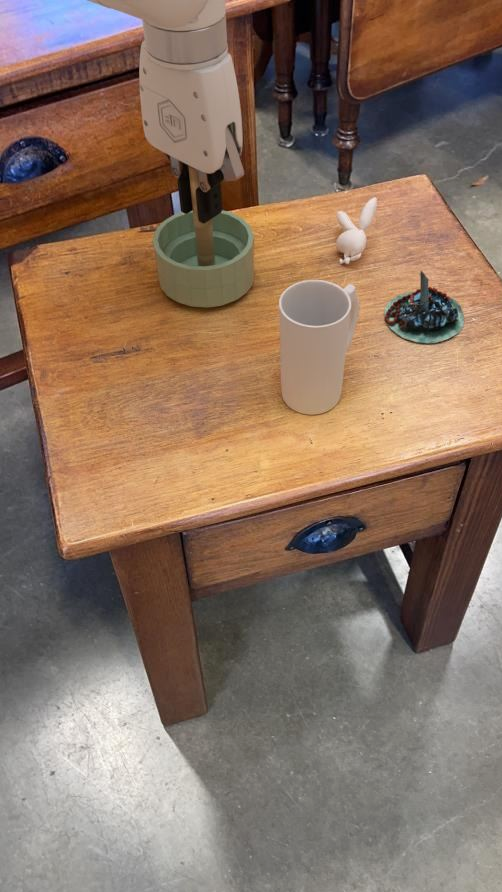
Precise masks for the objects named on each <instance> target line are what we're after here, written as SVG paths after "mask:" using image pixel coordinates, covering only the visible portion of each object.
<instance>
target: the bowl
mask: <svg viewBox="0 0 502 892" xmlns="http://www.w3.org/2000/svg"><path fill="white" fill-rule="evenodd" d="M212 228H213V241H214V254H215V265H211V266H205V267H204V266H198V261H197V250H196V240H195V230H194V219H193V210H192V211H191V212H189V213H187V214H185V213H183V212H181V211H180V212H177V213H175V214H173V215H171V216H170V217H168V218H166V219H164V220H163V221H162V222H161V223H160V224H159V225H158V227H157V228H155V230H154V234H153V237H152V245H153V252H154V253H153V254H154V258H155V266H156V274H157V279H158V283H159V287H160V289H161V290H162V292H163V293H164V294H165V295H166V296H167V297H168V298H170V299H172V300H173V301H174V302H176V303H179V304H182V305H184V306H185V305H186V306H189V307H193V308H213V307H221V306H224V305H225V306H226V305H227V304H231V303H232V302H235V301H237V300H239V299H241V298H242V297H243V296H244V295H246V294H247V293H248V292H249V290H250V289H251V287H252V286H253V285H254V283H255V276H256V261H255V258H256V257H255V255H256V254H255V235H254V232H253V229H252V227H251V225H250V224H249V223H248V222H247V221H246V220H245V218H242V217H241V216H240V215H237V214H235V213H233V212H231V211H227V210H223V209H222V212H221V213H220V214H218V215H217V216H215V217H214V218H212Z"/></svg>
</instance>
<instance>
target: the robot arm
mask: <svg viewBox="0 0 502 892" xmlns="http://www.w3.org/2000/svg"><path fill="white" fill-rule="evenodd" d="M87 2H90V3H94V4H96V5H98V6H99V5H100V6H101V7H104V8H107V9H111V10H114V11H117V12H120V13H124V14H125V15H128V16H132V17H133V18H136V19H140V20H141V22H142V31H143V36H144V37H143V38H144V40H143V41H142V42H141V45H140V52H139V67H138V68H139V69H138V71H139V75H138V76H139V79H138V80H139V95H140V96H139V99H140V100H139V101H140V110H141V111H140V112H141V121H142V129H143V132H144V133H143V134H144V137H145V139H146V141H147V142H148V143H149V144H150V145H151V146H152V147H154V148H155V149H157V150H158V151H160V152H162V153H164V154H165V156H166V157H167V159H168V160H169V162H170V167H171V169H170V170H171V173H172V176H174V177H175V178H176V179H177V180H176V181H177V190H178V198H179V207H180V212H183V213H185V214H187V213H189V212H191V211H192V210H193V209H192V199H191V188H190V178H189V168H188V165H189V166H191V167H193V168H195V169H197V170H198V179H199V187H198V188H197V189H196V202H197V213H198V220H199V222H201V223H203V224H204V223H206V222H208V221H209V220H211V219H212V218H214V217H215V216H217V215H218V214H220V213H221V212H222V210H223V198H222V197H223V196H222V182H236V181H238V180H240V179H241V178H243V177H244V176H245V170H244V166H243V164H242V163H243V162H242V161H241V155H242V152H243V143H244V142H243V141H244V140H243V137H244V136H243V120H242V119H243V118H242V109H241V108H242V107H241V101H240V94H239V93H240V92H239V86H238V81H237V76H236V70H235V67H234V62H233V58H232V55H231V53H229V52H228V51H229V46H228V45H229V44H228V42H229V41H228V24H227V21H228V20H227V11H226V9H227V8H226V0H87Z"/></svg>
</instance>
